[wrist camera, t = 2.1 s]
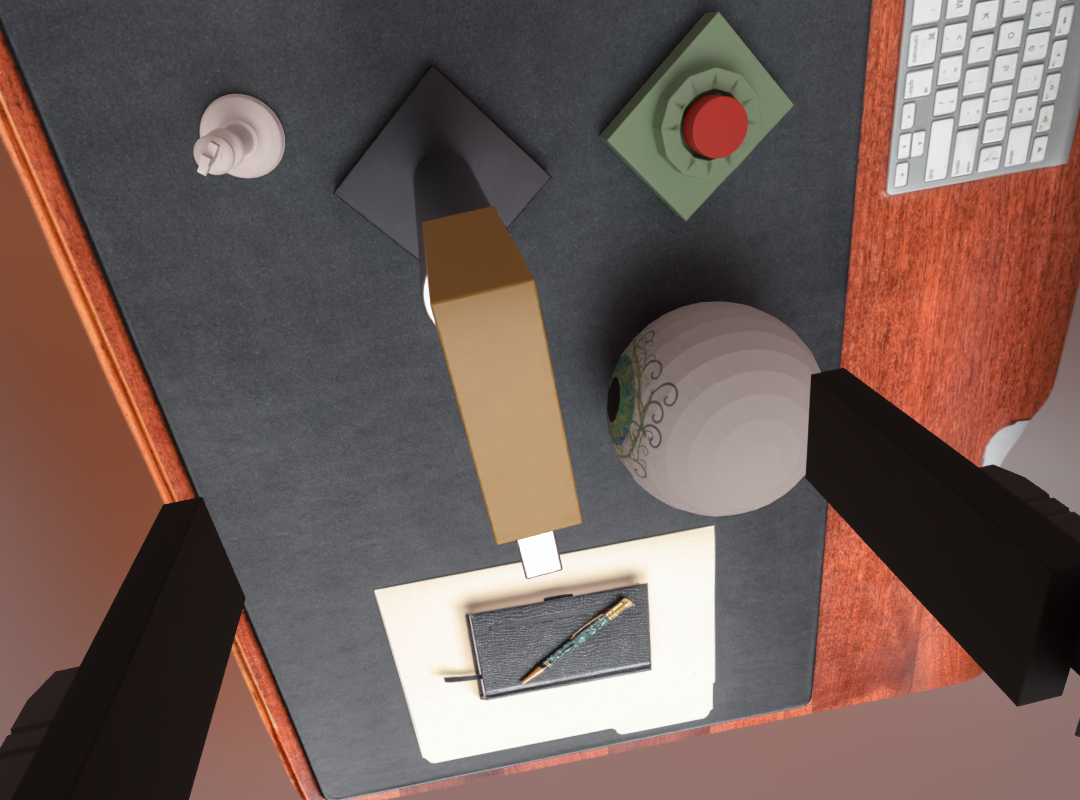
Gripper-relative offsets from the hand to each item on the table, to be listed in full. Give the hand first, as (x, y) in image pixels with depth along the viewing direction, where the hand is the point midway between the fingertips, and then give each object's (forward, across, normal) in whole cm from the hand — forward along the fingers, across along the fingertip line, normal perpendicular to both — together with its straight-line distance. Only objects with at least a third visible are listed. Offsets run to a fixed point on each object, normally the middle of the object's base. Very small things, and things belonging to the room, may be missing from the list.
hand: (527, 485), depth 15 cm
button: (+33, +17, +2) cm, 37 cm away
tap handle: (+12, 0, -4) cm, 13 cm away
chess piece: (+37, -12, +5) cm, 39 cm away
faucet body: (+37, 0, 0) cm, 37 cm away
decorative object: (+37, +16, -17) cm, 43 cm away
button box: (+37, +17, +2) cm, 41 cm away
